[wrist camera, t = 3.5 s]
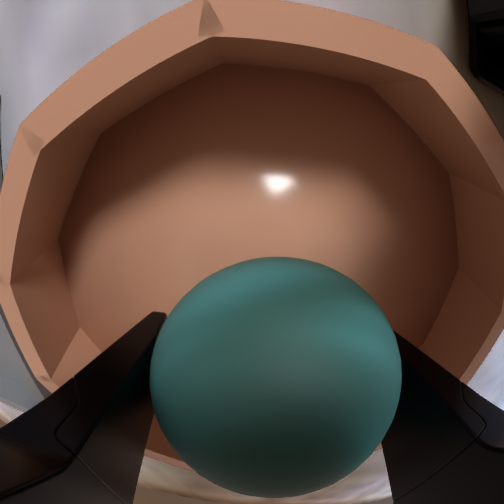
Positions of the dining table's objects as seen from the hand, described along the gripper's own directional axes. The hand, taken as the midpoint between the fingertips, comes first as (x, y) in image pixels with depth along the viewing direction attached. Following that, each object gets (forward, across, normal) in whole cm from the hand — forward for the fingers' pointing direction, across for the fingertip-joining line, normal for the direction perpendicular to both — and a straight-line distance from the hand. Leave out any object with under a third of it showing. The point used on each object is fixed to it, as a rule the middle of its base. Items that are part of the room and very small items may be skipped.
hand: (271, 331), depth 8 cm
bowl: (+2, 0, 0) cm, 2 cm away
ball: (-2, 0, 0) cm, 2 cm away
